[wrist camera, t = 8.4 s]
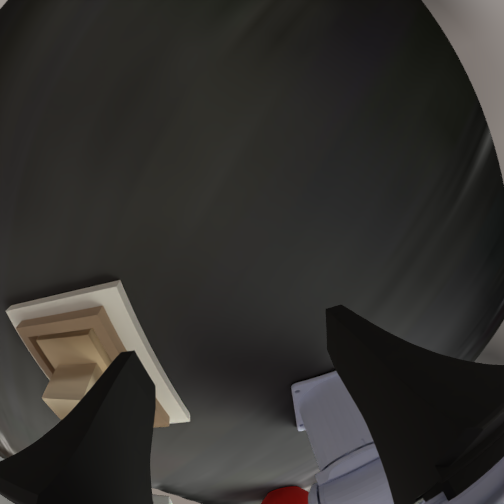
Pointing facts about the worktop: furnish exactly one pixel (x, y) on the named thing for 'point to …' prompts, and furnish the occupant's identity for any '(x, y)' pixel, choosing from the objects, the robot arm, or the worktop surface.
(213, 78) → the worktop surface
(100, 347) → the flange block
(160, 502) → the small box
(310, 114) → the worktop surface
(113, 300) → the keyed base
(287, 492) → the ceramic cup
